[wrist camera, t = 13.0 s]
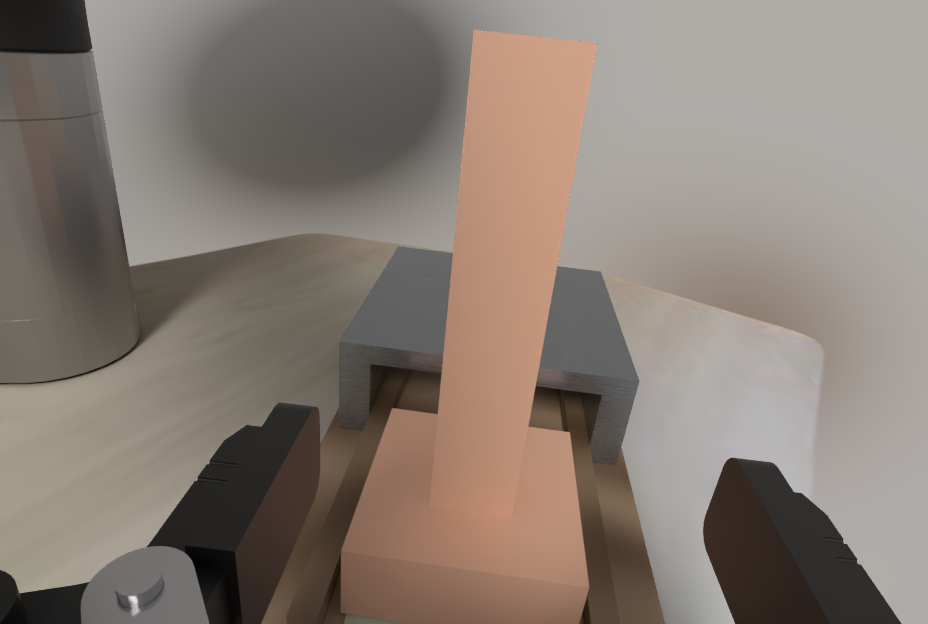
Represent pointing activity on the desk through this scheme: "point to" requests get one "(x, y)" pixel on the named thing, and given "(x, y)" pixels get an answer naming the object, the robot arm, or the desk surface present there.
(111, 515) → the desk surface
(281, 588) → the track board
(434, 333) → the tunnel
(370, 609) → the pink post on block
